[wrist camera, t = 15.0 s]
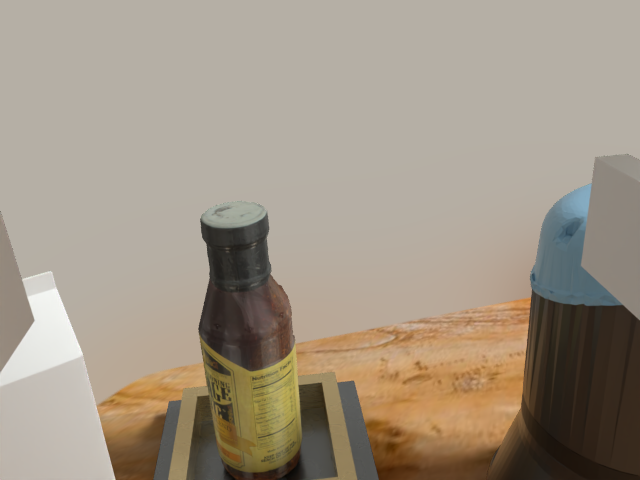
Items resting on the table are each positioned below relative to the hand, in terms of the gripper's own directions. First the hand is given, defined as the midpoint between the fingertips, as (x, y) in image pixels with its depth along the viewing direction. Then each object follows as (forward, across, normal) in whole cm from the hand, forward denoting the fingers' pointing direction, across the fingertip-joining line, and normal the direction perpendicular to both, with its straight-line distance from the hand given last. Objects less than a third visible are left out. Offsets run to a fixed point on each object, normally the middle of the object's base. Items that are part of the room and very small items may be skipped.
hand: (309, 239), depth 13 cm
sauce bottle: (+21, -4, -27) cm, 35 cm away
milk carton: (+18, -18, -29) cm, 38 cm away
